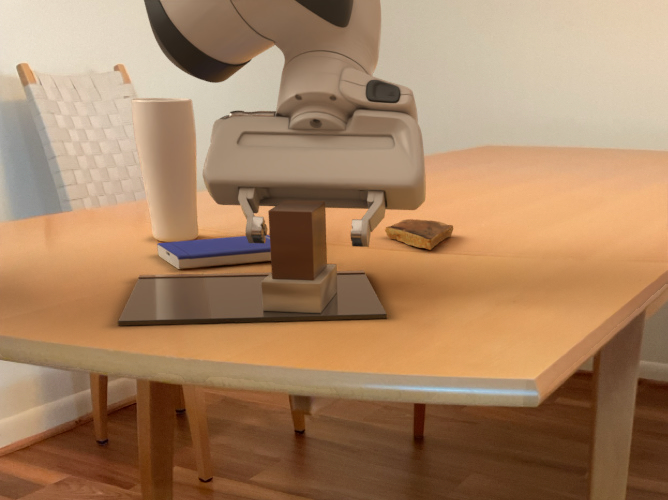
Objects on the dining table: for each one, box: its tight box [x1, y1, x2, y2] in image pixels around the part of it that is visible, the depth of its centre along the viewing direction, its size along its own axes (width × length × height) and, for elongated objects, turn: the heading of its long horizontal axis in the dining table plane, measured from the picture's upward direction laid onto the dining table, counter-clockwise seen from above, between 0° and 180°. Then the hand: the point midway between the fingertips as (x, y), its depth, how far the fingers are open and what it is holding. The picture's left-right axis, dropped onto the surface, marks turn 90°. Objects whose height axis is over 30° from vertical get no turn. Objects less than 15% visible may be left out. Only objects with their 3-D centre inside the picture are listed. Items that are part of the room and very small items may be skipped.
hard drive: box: [156, 234, 271, 270], centre depth 99 cm, size 2×8×12 cm
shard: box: [384, 218, 454, 251], centre depth 108 cm, size 11×8×2 cm
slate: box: [117, 270, 388, 327], centre depth 83 cm, size 22×17×1 cm
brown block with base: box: [261, 200, 338, 313], centre depth 79 cm, size 8×5×8 cm, turn 174°
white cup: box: [130, 97, 199, 243], centre depth 105 cm, size 7×7×15 cm
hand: (307, 241), depth 81 cm, fingers open, 8 cm apart
